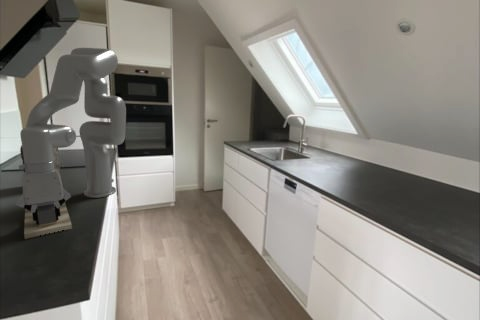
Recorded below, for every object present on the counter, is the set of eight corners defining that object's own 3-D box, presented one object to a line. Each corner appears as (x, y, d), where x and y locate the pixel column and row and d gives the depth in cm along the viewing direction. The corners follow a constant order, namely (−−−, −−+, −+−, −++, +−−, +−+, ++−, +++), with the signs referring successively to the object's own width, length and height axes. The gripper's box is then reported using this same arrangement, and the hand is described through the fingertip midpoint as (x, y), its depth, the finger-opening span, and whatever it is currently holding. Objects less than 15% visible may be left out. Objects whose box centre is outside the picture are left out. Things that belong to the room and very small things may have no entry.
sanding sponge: (38, 217, 89) (36, 203, 88) (55, 214, 92) (53, 200, 91) (39, 226, 83) (37, 212, 82) (56, 223, 86) (54, 209, 84)
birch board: (25, 210, 97) (25, 206, 97) (64, 203, 105) (64, 199, 104) (24, 239, 79) (24, 234, 79) (72, 228, 86) (71, 224, 86)
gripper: (3, 173, 75) (13, 231, 79) (73, 166, 85) (78, 218, 89) (5, 167, 81) (14, 222, 85) (70, 161, 91) (76, 210, 95)
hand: (47, 219), depth 87 cm, fingers closed on sanding sponge, 4 cm apart
